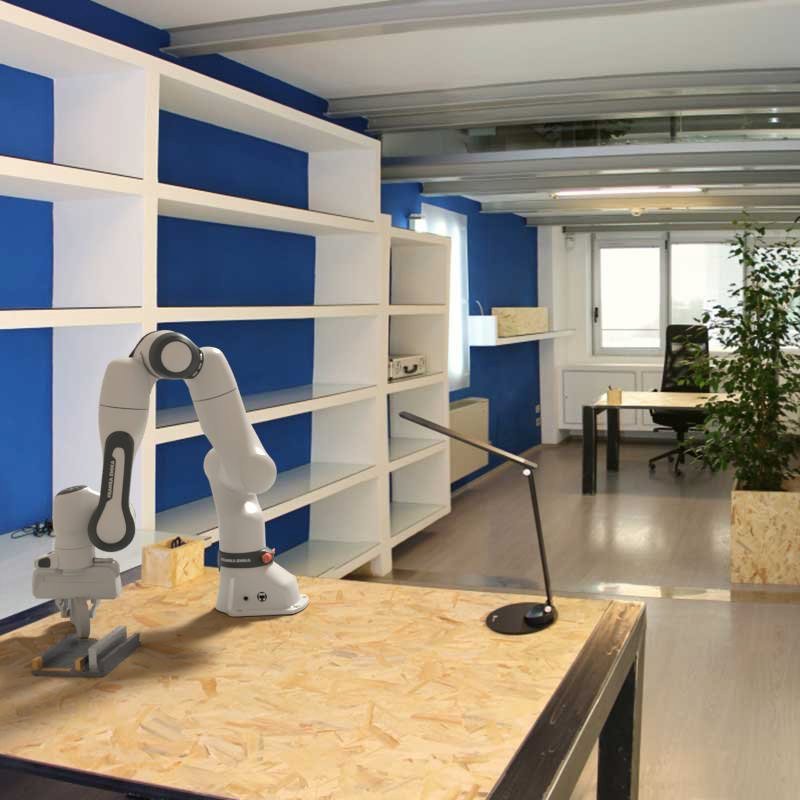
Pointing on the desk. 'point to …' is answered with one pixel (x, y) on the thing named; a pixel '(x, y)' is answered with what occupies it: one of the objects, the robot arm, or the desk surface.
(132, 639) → the phone stand
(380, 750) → the desk surface
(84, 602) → the game controller
